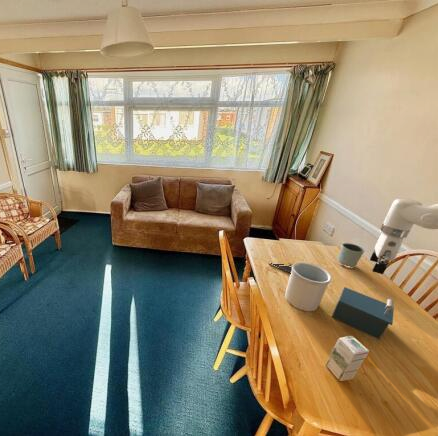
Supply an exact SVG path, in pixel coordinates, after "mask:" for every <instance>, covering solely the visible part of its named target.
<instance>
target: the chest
mask: <svg viewBox="0 0 438 436" xmlns="http://www.w3.org/2000/svg"><path fill="white" fill-rule="evenodd" d="M342 292H343V290H342V291H341V294H342ZM341 294H340V296H339V297H338V300H337V302H336V304H335V306H334V309H333V312H332V314H331V318H333V319H335V320H337V321H339V322H341V323H343V324H344V325H347V326H349V327H352V328H354V329H355V330H358V331H359V332H362V333H363V334H366V335H368V336H370V337H372V338H375V339H377V340H380V339H381V337H382V336H383V334H384V333H385V331H386V329H387V328H388V326H389V324H388V323H386V322H383V321H381V320H379V319H376V318H374V317H372V316H370V315H367V314H365V313H363V312H360V311H358V310H356V309H354V308H351V307H349V306H347V305H344V304H342V303H340V302H339V299H340V297H341Z"/></svg>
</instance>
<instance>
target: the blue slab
mask: <svg viewBox="0 0 438 436" xmlns="http://www.w3.org/2000/svg"><path fill="white" fill-rule="evenodd" d="M342 291H343V292H342ZM342 291H341V293H342V294H340V295H341V297H340V296H339V298H340V299H339V298H338V300H339V302H340V303H342V304H344V305H347V306H349V307H351V308H354V309H356V310H358V311H360V312H363V313H365V314H367V315H370V316H372V317H374V318H376V319H379V320H381V321H383V322H386V323H388V325H390V326H392V325H393V324H394V323H393V321H394V311H395V306H394V302H395V301H394V300H393V299H391V298H387V299H386V302H384V301H381V300H379V299H376V298H373V297H371V296H368V295H366V294H364V293H361V292H358V291H356V290H353V289H351V288H349V287H346V286H344V287H343V288H342Z"/></svg>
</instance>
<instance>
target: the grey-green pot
mask: <svg viewBox="0 0 438 436" xmlns="http://www.w3.org/2000/svg"><path fill="white" fill-rule="evenodd" d="M364 253H365V248H363V247H361V246H360V245H357V244H355V243H350V242H349V243H348V242H344V243H342V244H341V248H340V251H339V253H338V254H339V255H338V257H337V260H338V261H339V262H340V263H341V264H343V265H346V266H350V267H354V266H355V267H356V266H357V265H358V262H359V260H360V259H361V258H362V256H363V254H364Z"/></svg>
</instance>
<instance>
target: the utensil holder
mask: <svg viewBox="0 0 438 436" xmlns="http://www.w3.org/2000/svg"><path fill="white" fill-rule="evenodd" d="M292 265H293V266H292V271H291V274H290V273H289V278H288V281H287V284H286V288H285V292H284V293H285V294H284V297H285V300H286V301H287V302H288V303H289V304H290V305H291V306H292V307H294V308H296V309H298V310H301V311H304V312H314V311H316V310H317V309H318V308H319V306H320V303H321V301H322V300H323V297H324V295H325V293H326V290H327V288H328V286H329V284H330V283H331V281H332V275H331V274H330V272H329V271H328V270H326V269H324V268H323V267H321V266H319V265H316V264H315V263H311V262H304V261H299V262H295V263H293V264H292Z"/></svg>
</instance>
